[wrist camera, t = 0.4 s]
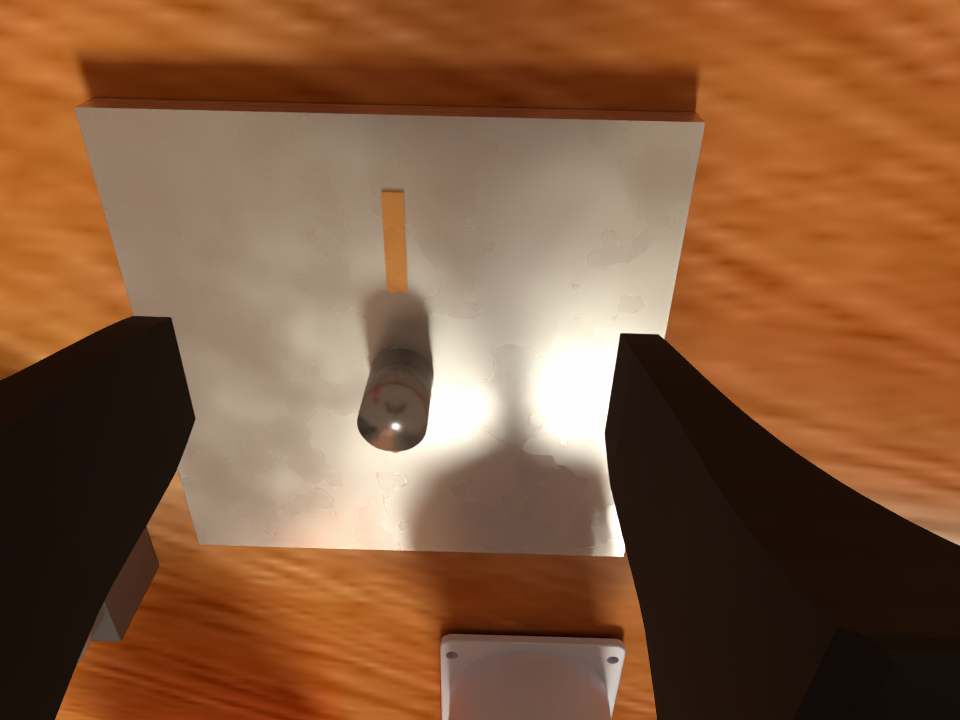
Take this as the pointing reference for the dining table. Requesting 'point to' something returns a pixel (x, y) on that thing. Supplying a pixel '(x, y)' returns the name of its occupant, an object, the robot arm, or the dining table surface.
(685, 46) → the dining table surface
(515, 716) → the robot arm
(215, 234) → the flat square panel
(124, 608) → the knob
